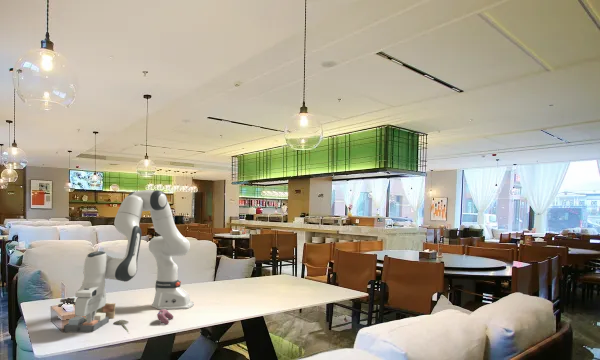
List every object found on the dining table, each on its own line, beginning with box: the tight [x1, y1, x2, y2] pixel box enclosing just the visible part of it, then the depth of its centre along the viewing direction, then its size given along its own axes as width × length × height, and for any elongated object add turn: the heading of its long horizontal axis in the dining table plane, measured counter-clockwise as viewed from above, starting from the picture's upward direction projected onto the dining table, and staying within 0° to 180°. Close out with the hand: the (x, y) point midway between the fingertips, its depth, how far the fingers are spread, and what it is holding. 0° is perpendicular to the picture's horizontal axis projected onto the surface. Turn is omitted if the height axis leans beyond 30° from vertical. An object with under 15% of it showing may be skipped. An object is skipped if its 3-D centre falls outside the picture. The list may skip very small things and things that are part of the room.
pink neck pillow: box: [156, 309, 174, 325], centre depth 177 cm, size 10×5×7 cm, turn 5°
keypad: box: [63, 317, 110, 333], centre depth 162 cm, size 12×15×4 cm
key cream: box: [94, 313, 106, 321], centre depth 166 cm, size 4×5×3 cm
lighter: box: [57, 297, 76, 307], centre depth 176 cm, size 8×3×10 cm, turn 145°
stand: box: [96, 302, 116, 319], centre depth 176 cm, size 12×4×8 cm, turn 93°
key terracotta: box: [83, 320, 98, 325], centre depth 159 cm, size 4×5×3 cm
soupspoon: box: [113, 319, 130, 333], centre depth 164 cm, size 22×3×7 cm
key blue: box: [67, 316, 84, 325], centre depth 159 cm, size 4×5×3 cm
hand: (90, 321), depth 159 cm, fingers closed, pressing on key terracotta
